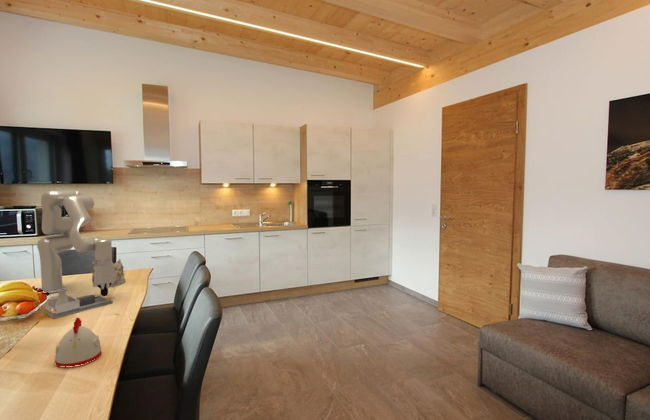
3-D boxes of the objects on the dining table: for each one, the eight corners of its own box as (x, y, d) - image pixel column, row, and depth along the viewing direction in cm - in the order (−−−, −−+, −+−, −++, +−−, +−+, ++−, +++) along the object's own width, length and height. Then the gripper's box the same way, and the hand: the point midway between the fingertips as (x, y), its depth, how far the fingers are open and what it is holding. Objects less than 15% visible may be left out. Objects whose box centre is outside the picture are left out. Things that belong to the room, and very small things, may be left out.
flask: (61, 312, 168) (61, 292, 167) (49, 311, 170) (48, 291, 169) (75, 307, 175) (74, 287, 174) (63, 306, 177) (62, 286, 176)
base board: (43, 312, 171) (42, 307, 171) (101, 298, 192) (101, 294, 192) (53, 318, 164) (53, 313, 164) (112, 303, 185) (112, 299, 185)
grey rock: (109, 278, 228) (108, 256, 226) (131, 281, 225) (130, 259, 223) (88, 287, 213) (87, 263, 211) (112, 290, 210) (110, 266, 208)
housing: (47, 309, 172) (47, 300, 172) (89, 299, 187) (88, 291, 186) (57, 314, 165) (56, 305, 165) (98, 303, 180) (98, 295, 180)
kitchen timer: (49, 371, 120) (47, 328, 119) (61, 352, 133) (59, 314, 131) (97, 363, 126) (96, 322, 124) (104, 346, 138) (102, 309, 137)
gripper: (90, 265, 178) (91, 301, 180) (121, 260, 190) (122, 293, 192) (84, 263, 182) (85, 297, 184) (115, 258, 195) (115, 290, 196)
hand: (104, 295), depth 188 cm, fingers closed
